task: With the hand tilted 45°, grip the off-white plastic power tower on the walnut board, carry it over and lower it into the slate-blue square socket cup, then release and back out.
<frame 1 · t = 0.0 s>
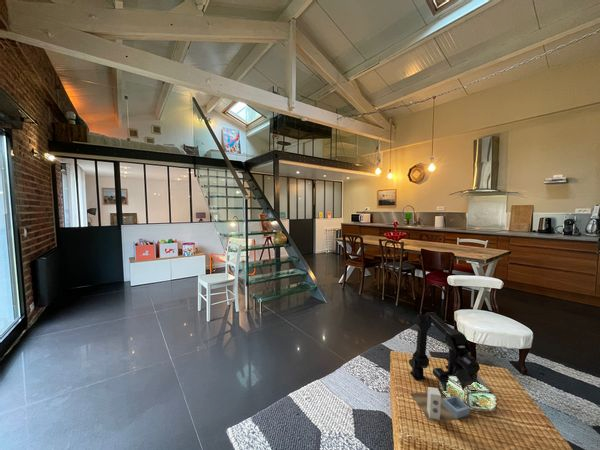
hand: (453, 389, 113), 15 cm above the table, tool pointing down, fingers open, 9 cm apart
socket cup: (455, 409, 118), resting on walnut board
power tower: (433, 415, 115), point 1 cm above the table, touching walnut board
walnut board: (439, 406, 120), on the table
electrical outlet: (474, 385, 135), on the table
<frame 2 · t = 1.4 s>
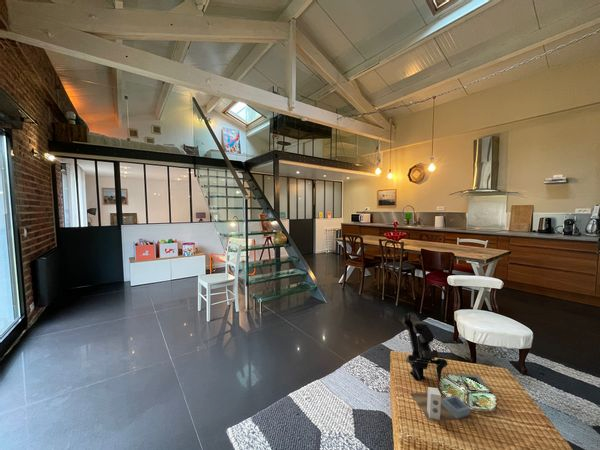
hand: (429, 380, 121), 13 cm above the table, tool tilted 45°, fingers open, 9 cm apart
nothing on the table moved.
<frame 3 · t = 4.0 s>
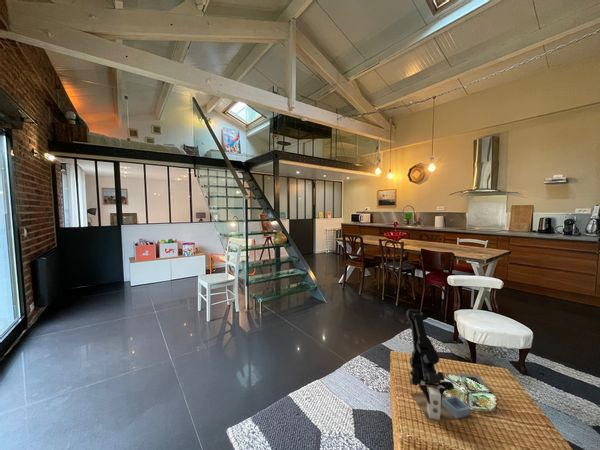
hand: (434, 404, 113), 7 cm above the table, tool tilted 45°, fingers closed on power tower, 4 cm apart
power tower: (433, 415, 115), point 1 cm above the table, touching gripper, walnut board
everything else where it was.
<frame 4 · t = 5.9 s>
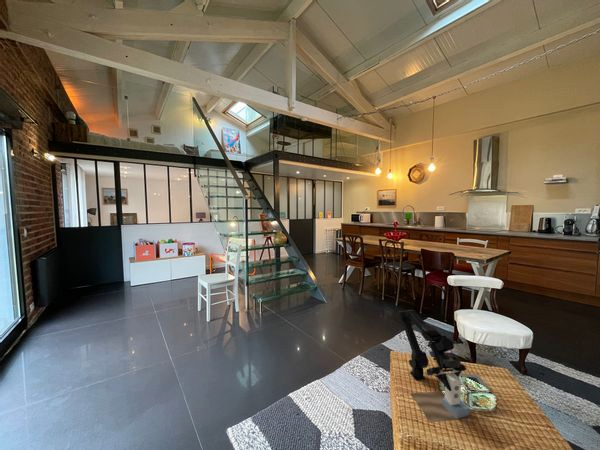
hand: (454, 390, 114), 13 cm above the table, tool tilted 45°, fingers closed on power tower, 4 cm apart
power tower: (451, 400, 116), point 7 cm above the table, touching gripper
everything else where it was.
when the fingers open (9 cm above the table, at t = 7.8 s): power tower drops 1 cm, resting on socket cup.
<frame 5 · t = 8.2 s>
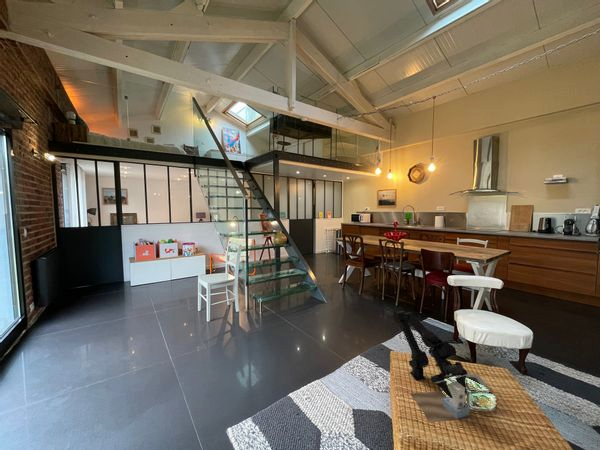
hand: (459, 395, 115), 9 cm above the table, tool tilted 45°, fingers open, 9 cm apart
power tower: (455, 408, 117), point 1 cm above the table, touching socket cup
everything else where it was.
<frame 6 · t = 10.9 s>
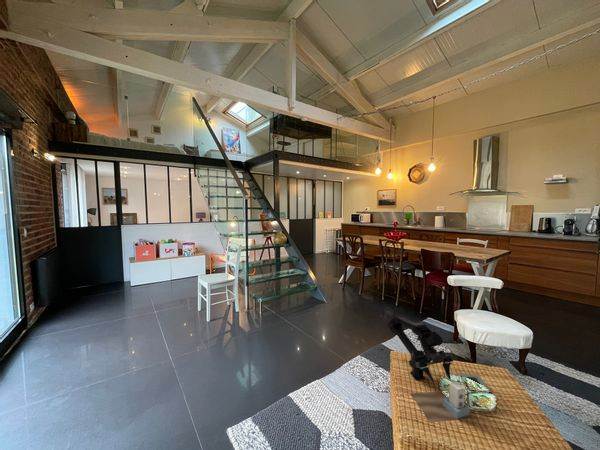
hand: (441, 380, 125), 10 cm above the table, tool tilted 40°, fingers open, 9 cm apart
nothing on the table moved.
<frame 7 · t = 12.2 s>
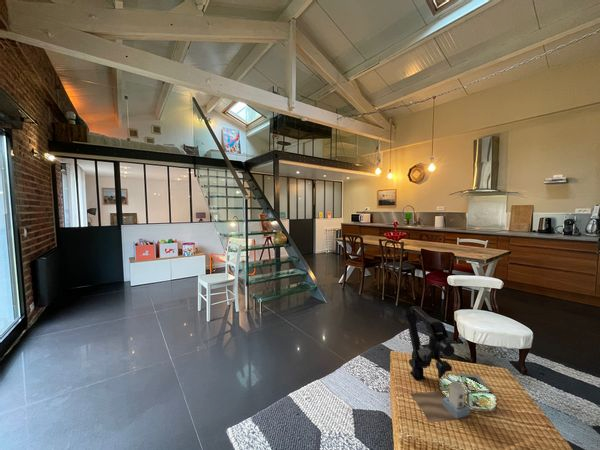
hand: (433, 372, 127), 13 cm above the table, tool pointing down, fingers open, 9 cm apart
nothing on the table moved.
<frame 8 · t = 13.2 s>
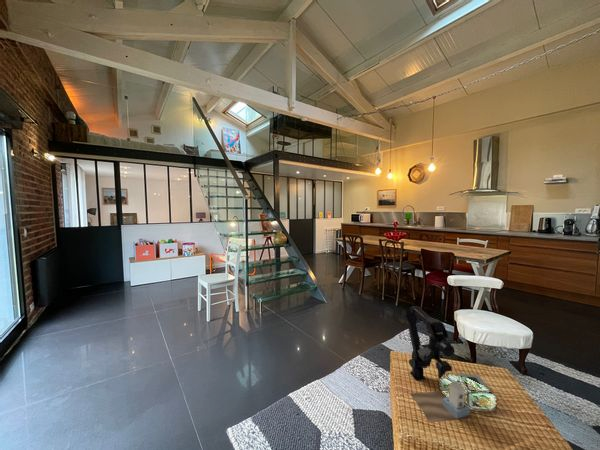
hand: (433, 372, 127), 13 cm above the table, tool pointing down, fingers open, 9 cm apart
nothing on the table moved.
at the end: power tower 0.1 cm off-centre on the socket cup, point 0.6 cm above the socket cup's base; power tower tilted 0°; the gripper is holding nothing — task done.
